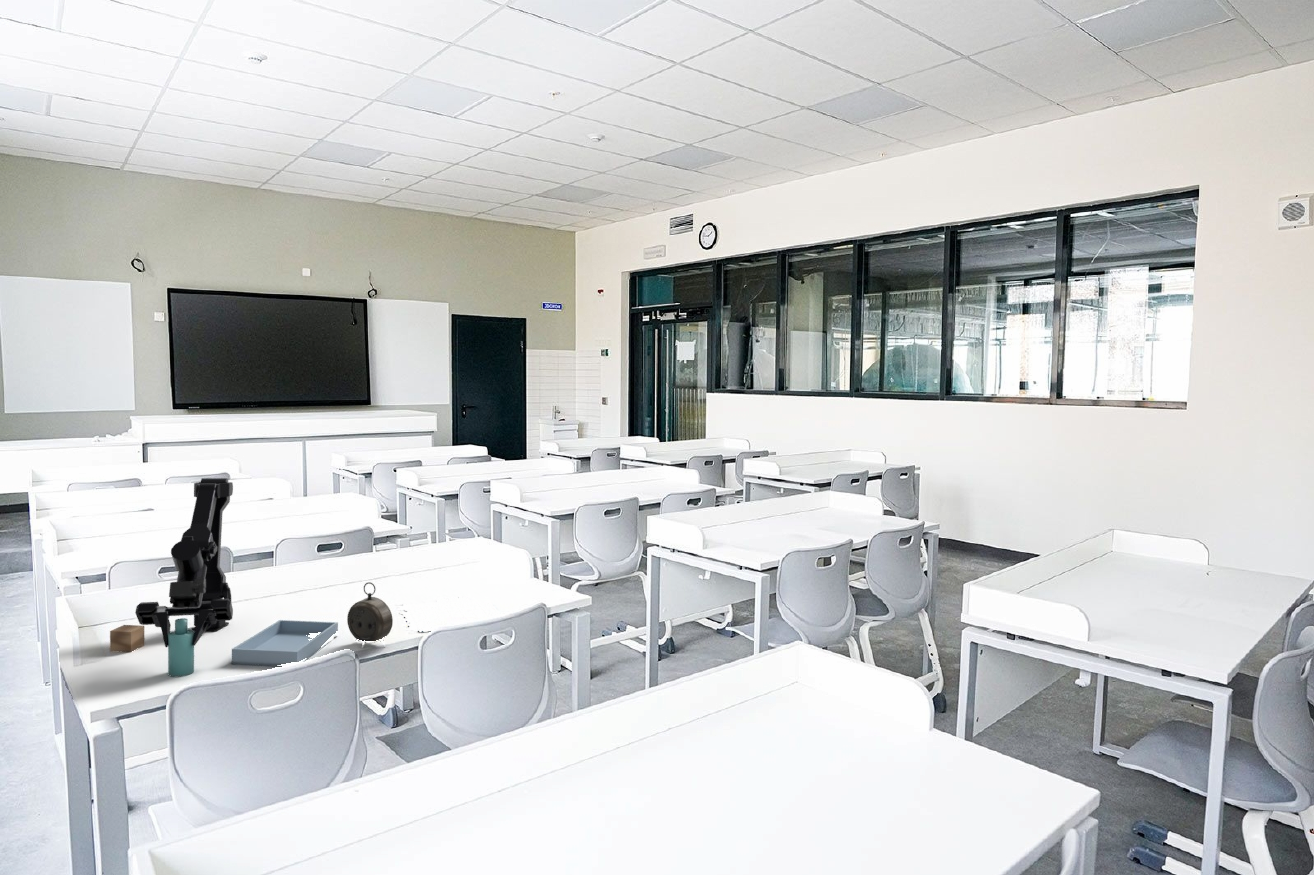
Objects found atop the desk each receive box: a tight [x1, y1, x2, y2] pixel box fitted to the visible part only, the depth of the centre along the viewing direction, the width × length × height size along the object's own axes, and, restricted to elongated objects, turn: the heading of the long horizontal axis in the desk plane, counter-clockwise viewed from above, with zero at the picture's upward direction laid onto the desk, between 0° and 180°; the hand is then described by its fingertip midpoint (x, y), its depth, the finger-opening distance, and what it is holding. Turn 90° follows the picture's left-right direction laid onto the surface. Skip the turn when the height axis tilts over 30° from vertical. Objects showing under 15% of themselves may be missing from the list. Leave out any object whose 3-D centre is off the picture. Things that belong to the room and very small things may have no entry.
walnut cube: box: [109, 624, 145, 653], centre depth 197 cm, size 5×5×5 cm
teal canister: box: [167, 617, 195, 677], centre depth 182 cm, size 5×5×12 cm
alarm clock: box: [346, 581, 394, 642], centre depth 204 cm, size 11×5×16 cm, turn 71°
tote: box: [231, 619, 339, 667], centre depth 200 cm, size 15×23×4 cm, turn 179°
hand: (179, 645), depth 181 cm, fingers closed on teal canister, 5 cm apart
